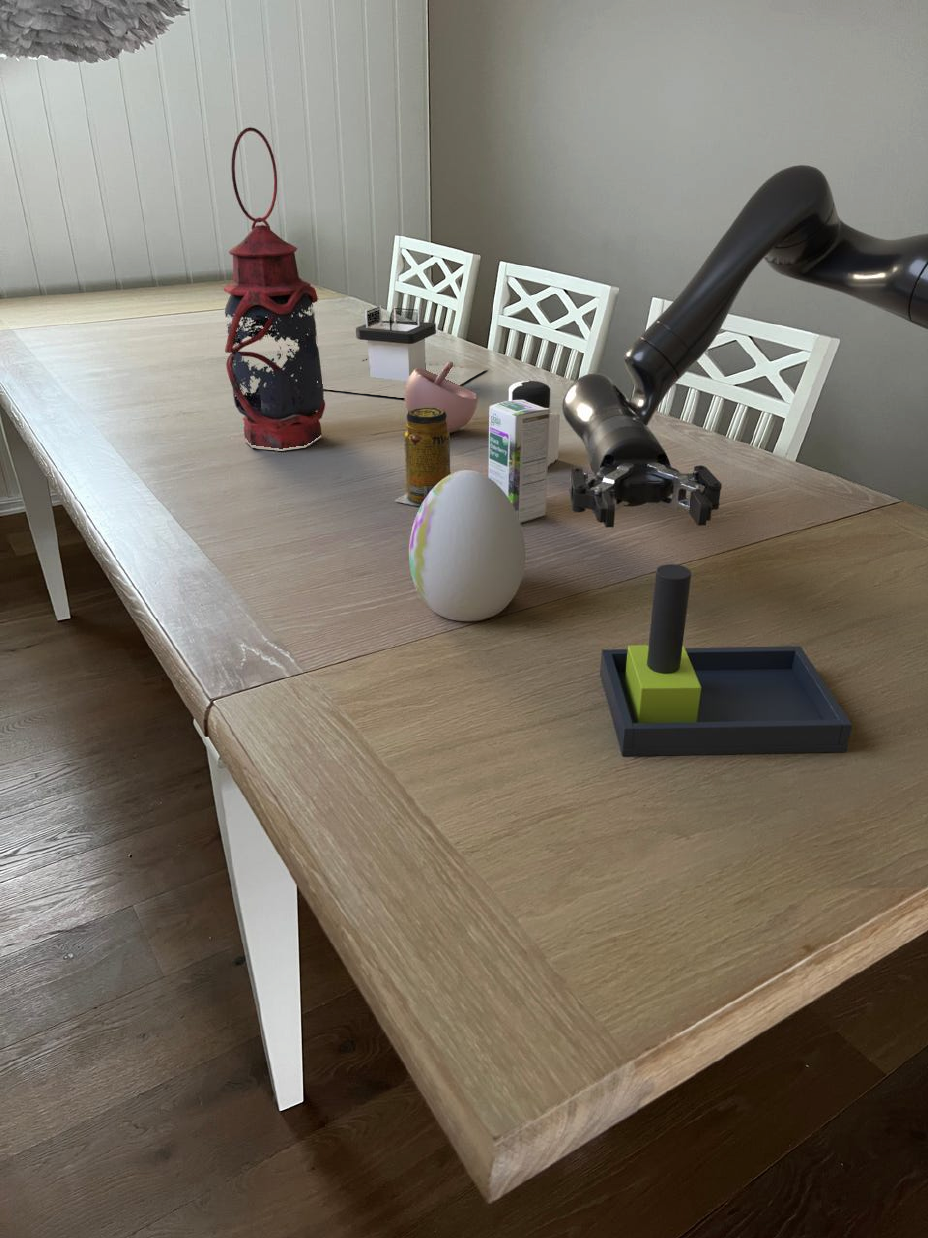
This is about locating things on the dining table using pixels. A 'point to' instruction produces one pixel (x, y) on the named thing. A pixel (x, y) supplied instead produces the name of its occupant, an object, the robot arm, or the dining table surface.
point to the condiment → (425, 453)
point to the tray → (736, 706)
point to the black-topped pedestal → (395, 343)
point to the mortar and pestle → (440, 396)
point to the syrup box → (520, 454)
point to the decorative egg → (467, 548)
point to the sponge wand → (664, 657)
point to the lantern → (273, 335)
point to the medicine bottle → (541, 397)
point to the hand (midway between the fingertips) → (657, 517)
